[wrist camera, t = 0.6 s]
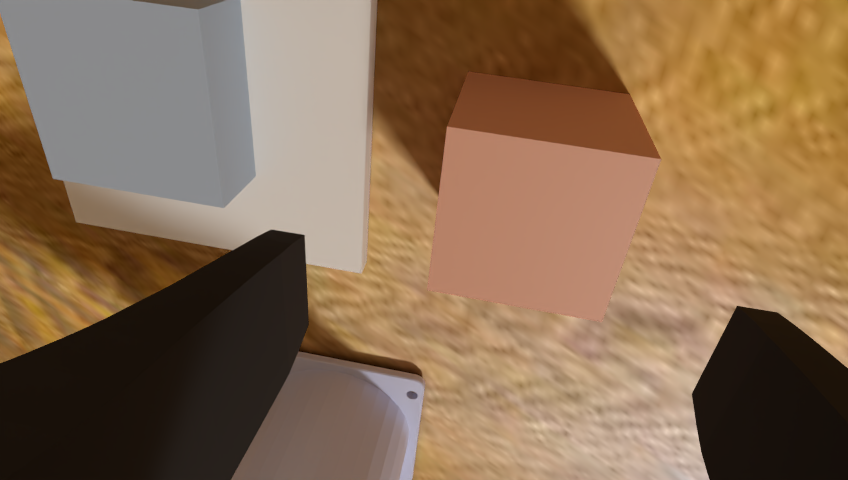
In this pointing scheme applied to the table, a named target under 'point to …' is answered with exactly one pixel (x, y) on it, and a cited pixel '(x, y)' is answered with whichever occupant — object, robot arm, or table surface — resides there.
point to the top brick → (539, 194)
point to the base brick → (138, 93)
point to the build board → (283, 141)
